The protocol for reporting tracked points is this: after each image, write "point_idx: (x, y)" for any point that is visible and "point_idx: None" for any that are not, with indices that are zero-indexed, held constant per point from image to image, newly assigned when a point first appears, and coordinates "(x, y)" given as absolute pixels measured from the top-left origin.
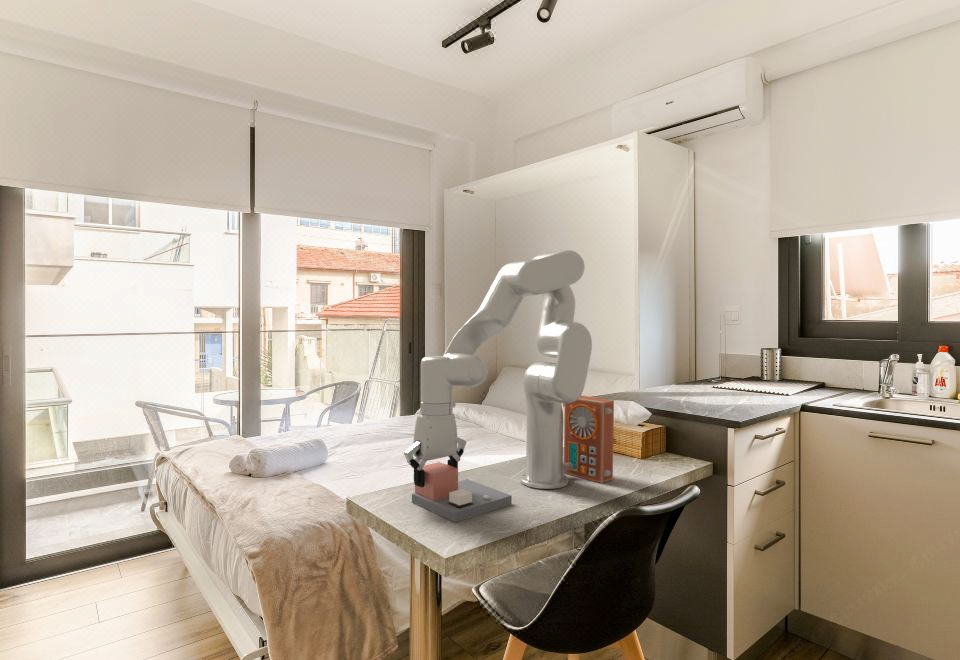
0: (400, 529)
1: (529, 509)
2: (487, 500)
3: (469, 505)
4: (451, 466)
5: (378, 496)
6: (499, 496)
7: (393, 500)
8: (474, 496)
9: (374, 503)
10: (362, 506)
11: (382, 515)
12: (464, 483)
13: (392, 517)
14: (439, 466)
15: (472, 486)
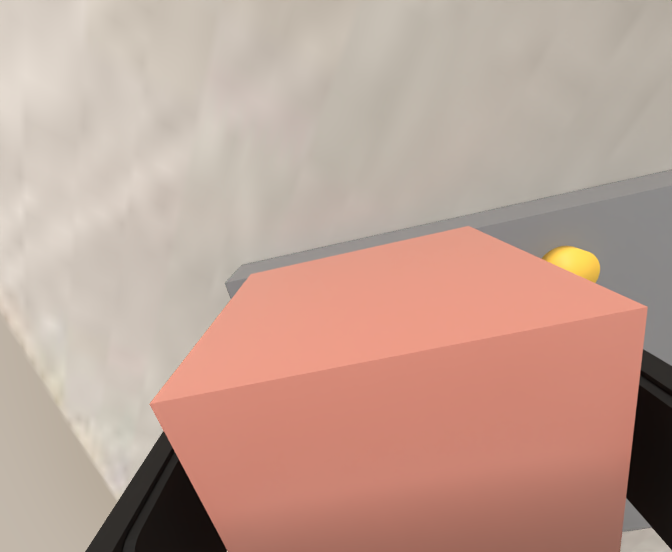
0: None
1: (651, 540)
2: None
3: None
4: (612, 542)
5: (40, 40)
6: (632, 511)
7: (140, 181)
8: None
9: (12, 177)
10: None
11: (57, 364)
12: (662, 252)
13: (103, 402)
14: (487, 494)
15: (652, 333)
